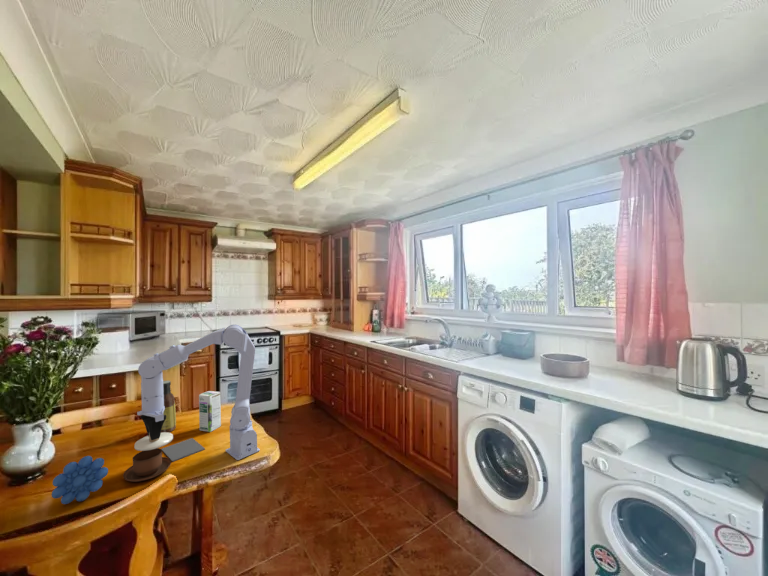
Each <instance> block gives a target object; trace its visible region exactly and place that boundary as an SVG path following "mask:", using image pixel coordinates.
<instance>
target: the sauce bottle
mask: <svg viewBox="0 0 768 576" xmlns="http://www.w3.org/2000/svg"><path fill="white" fill-rule="evenodd" d="M171 383H172V382H171V380H163V391H164V406H165V410H164V412H163V414H164V415H166V416H167V417H166V420H165V421H164V423H163V426H162V429H161V433H163V432H168V433H171V432H173V431H174V430H175V429H176V426H177V415H176V403H175V402H176V401H175V396H174V394H173V393H172V392H171V391H172V390H171Z"/></svg>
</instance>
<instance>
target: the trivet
mask: <svg viewBox="0 0 768 576" xmlns="http://www.w3.org/2000/svg"><path fill="white" fill-rule="evenodd" d="M160 449H161V450H162V453H164V455H165V456H167V457H166V458H169V459H170V460H171V463H174V462H176V461H179V460H182V459H184V458H186V457H189V456H192V455H195V454H197V453H200V452H202V451H204V450H206V448H205V447H204V446H203V445H202V444H201V443H199V442H198V441H197V440H195V439H194V438H193V437H192V438H187V439H186V440H182V441H180V442H177V443H174V444H171V445H168V446H166V447H161V448H160Z"/></svg>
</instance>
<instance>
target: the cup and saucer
mask: <svg viewBox="0 0 768 576" xmlns="http://www.w3.org/2000/svg"><path fill="white" fill-rule="evenodd" d="M161 449H162V448H160V447H159V448H156V449H153V450H147V451H139V452H137V453H136V454H135V455H134V456H133V457H132V465H131V466H130V467H128V468H127V469H126V470H125V471H124V472H123V479H124V480H125V481H126V482H127V481H128V482H132V483H133V482H134V483H136V482H137V483H138V482H144V481H147V480H151V479H154V478H156V477H158V476H160V475H161V474H163V473H165V472H166V471H167V470H168V469H169V467H170V466H171V465H172V461H171V460H170V459H169V458H168V457H165V456H163V451H162V450H161Z"/></svg>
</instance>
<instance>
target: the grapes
mask: <svg viewBox="0 0 768 576" xmlns="http://www.w3.org/2000/svg"><path fill="white" fill-rule="evenodd" d="M104 465H105V459H104V458H103V457H97V458H96V459H94V460H93V457H92V456H91V455H87V456H86V455H85V456H83V457H82V458H80V459H79V461H78V462H76V461H70V462H68V463H67V464H66V465H65V466H64V467H63V468H62V469H63V471H62V473H59V474H58V475H56V476H55V477H54V478H53V479H52V485H53V486H54V487H55V488H54V489H53V490H52V492H51V497H52V498H53V499H60V502H61V504H63V505H67V504H70V503H71V502H73V501H74V500H76V502H84V501H85V500H87V499H88V498H89V496H90V494H91V493H92V492H93V493H94V492H97V491H98V490H99V489H101V488H102V486H103V483H104V481H103V478H105V477H107V475H108V473H109V468H108V467H106V466H104Z"/></svg>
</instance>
